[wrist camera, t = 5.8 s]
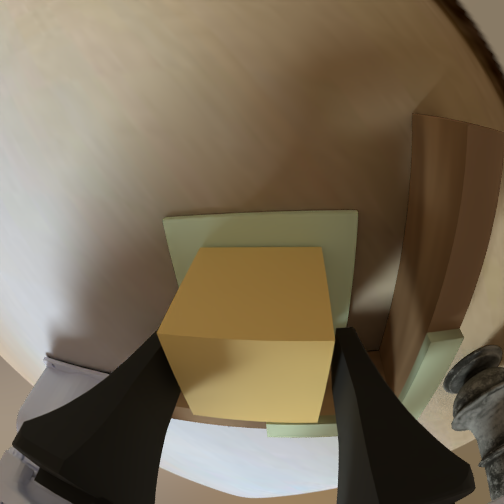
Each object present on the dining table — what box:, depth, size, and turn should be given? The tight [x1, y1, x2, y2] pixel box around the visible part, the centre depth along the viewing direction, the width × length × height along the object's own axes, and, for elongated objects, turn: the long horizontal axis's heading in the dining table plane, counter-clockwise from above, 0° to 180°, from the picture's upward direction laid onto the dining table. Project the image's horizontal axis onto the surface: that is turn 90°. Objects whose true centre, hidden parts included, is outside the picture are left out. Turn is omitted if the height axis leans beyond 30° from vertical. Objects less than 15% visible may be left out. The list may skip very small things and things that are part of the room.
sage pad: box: [162, 210, 358, 336], centre depth 13 cm, size 8×8×1 cm
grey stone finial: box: [443, 345, 504, 501], centre depth 10 cm, size 6×6×12 cm
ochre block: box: [157, 247, 335, 423], centre depth 11 cm, size 5×5×5 cm
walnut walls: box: [171, 113, 504, 438], centre depth 11 cm, size 15×14×4 cm
